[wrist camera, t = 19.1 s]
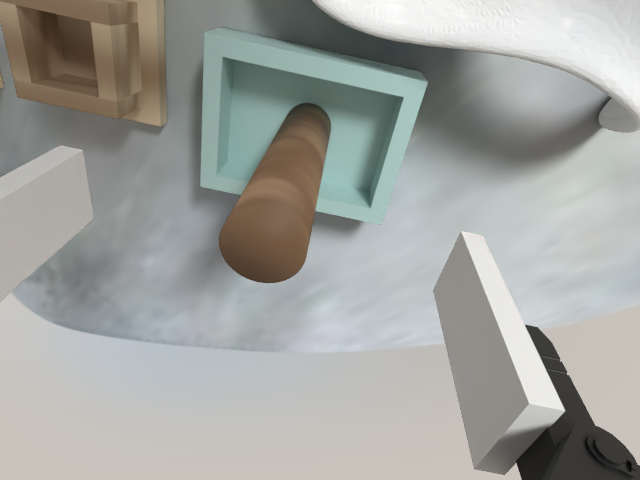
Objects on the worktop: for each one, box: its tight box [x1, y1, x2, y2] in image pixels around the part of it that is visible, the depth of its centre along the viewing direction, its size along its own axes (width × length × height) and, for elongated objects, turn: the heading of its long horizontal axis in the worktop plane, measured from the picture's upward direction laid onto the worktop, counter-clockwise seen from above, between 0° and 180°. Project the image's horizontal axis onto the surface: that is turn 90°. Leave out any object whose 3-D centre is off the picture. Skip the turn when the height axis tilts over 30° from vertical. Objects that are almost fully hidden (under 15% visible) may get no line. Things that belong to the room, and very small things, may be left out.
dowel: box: [219, 103, 331, 283], centre depth 19 cm, size 3×3×14 cm
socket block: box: [0, 0, 167, 127], centre depth 22 cm, size 8×8×4 cm
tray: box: [200, 27, 428, 225], centre depth 24 cm, size 9×12×3 cm
